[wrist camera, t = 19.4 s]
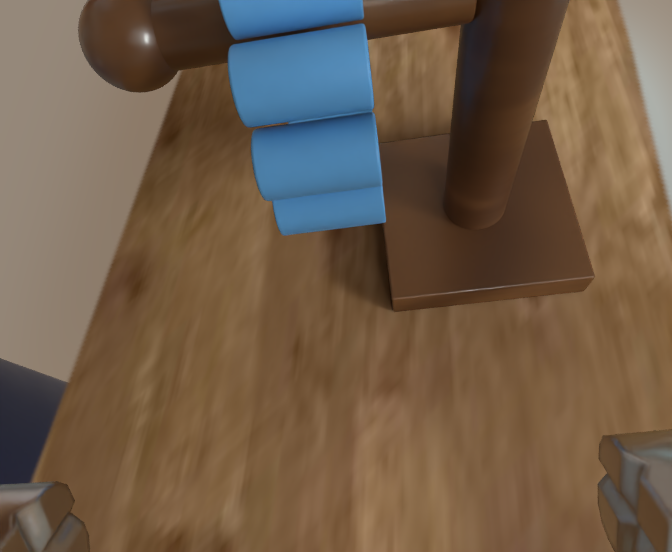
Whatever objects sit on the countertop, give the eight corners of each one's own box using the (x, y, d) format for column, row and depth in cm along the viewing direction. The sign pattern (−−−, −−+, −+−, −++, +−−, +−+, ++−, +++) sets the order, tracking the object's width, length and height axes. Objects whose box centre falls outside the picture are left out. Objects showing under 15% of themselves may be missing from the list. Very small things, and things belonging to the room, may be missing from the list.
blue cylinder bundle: (390, 268, 17) (371, 68, 9) (304, 278, 18) (207, 94, 9) (366, 64, 21) (336, -219, 12) (294, 75, 21) (217, -194, 13)
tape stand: (229, 330, 23) (-89, 24, 8) (233, 182, 26) (10, -219, 12) (584, 291, 21) (947, -164, 7) (539, 139, 25) (718, -381, 10)
